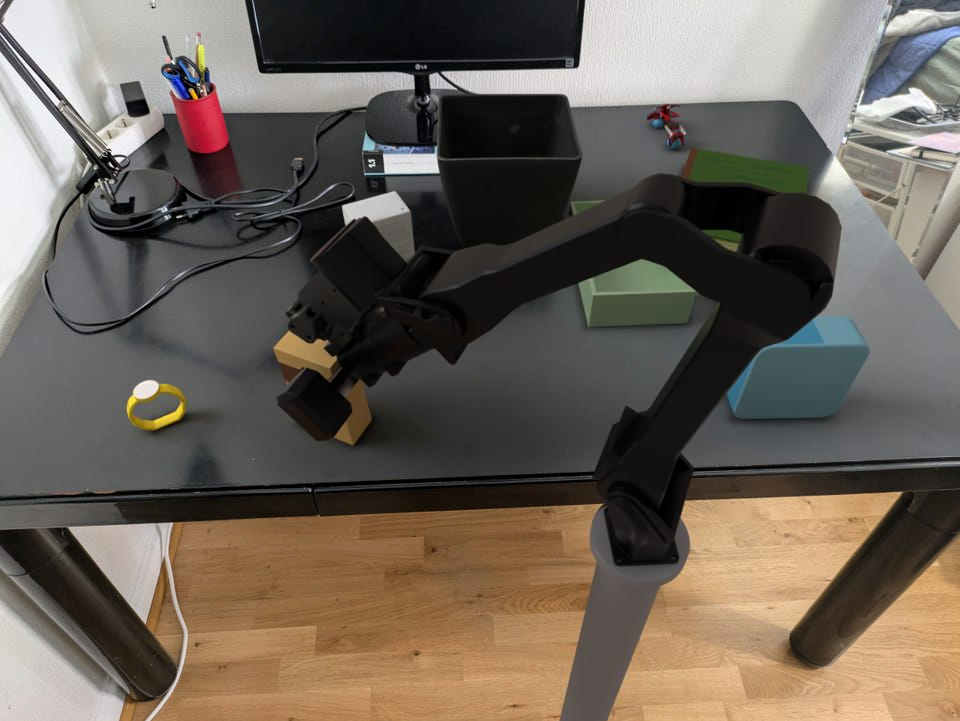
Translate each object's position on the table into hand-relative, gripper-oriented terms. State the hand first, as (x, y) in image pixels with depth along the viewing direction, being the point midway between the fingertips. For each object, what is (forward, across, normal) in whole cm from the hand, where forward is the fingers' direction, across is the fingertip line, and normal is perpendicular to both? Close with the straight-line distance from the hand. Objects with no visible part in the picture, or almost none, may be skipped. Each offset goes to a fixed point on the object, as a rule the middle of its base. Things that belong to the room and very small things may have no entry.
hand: (315, 376), depth 75 cm
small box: (+10, -27, 0) cm, 29 cm away
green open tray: (-12, -39, +22) cm, 47 cm away
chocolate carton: (+4, 0, +6) cm, 7 cm away
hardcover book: (-21, -60, +31) cm, 70 cm away
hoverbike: (-9, -81, +19) cm, 84 cm away
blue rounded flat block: (-29, -23, +38) cm, 53 cm away
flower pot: (+2, -44, +8) cm, 44 cm away
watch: (+17, +8, -6) cm, 20 cm away
